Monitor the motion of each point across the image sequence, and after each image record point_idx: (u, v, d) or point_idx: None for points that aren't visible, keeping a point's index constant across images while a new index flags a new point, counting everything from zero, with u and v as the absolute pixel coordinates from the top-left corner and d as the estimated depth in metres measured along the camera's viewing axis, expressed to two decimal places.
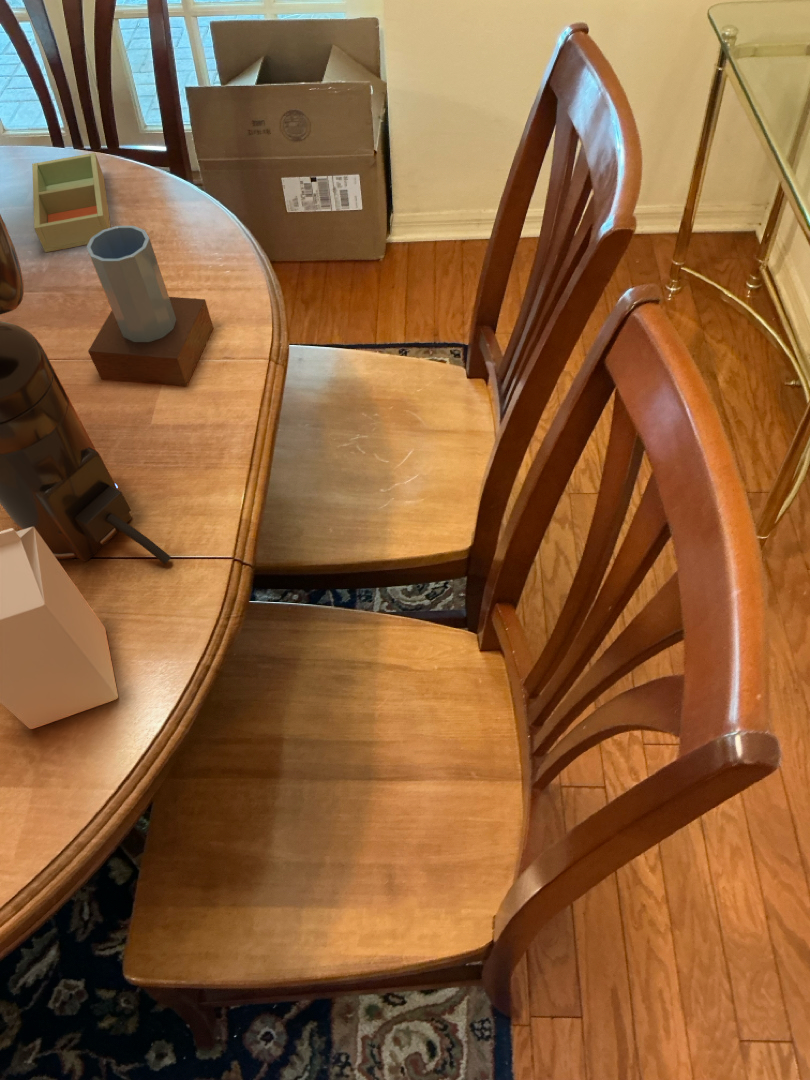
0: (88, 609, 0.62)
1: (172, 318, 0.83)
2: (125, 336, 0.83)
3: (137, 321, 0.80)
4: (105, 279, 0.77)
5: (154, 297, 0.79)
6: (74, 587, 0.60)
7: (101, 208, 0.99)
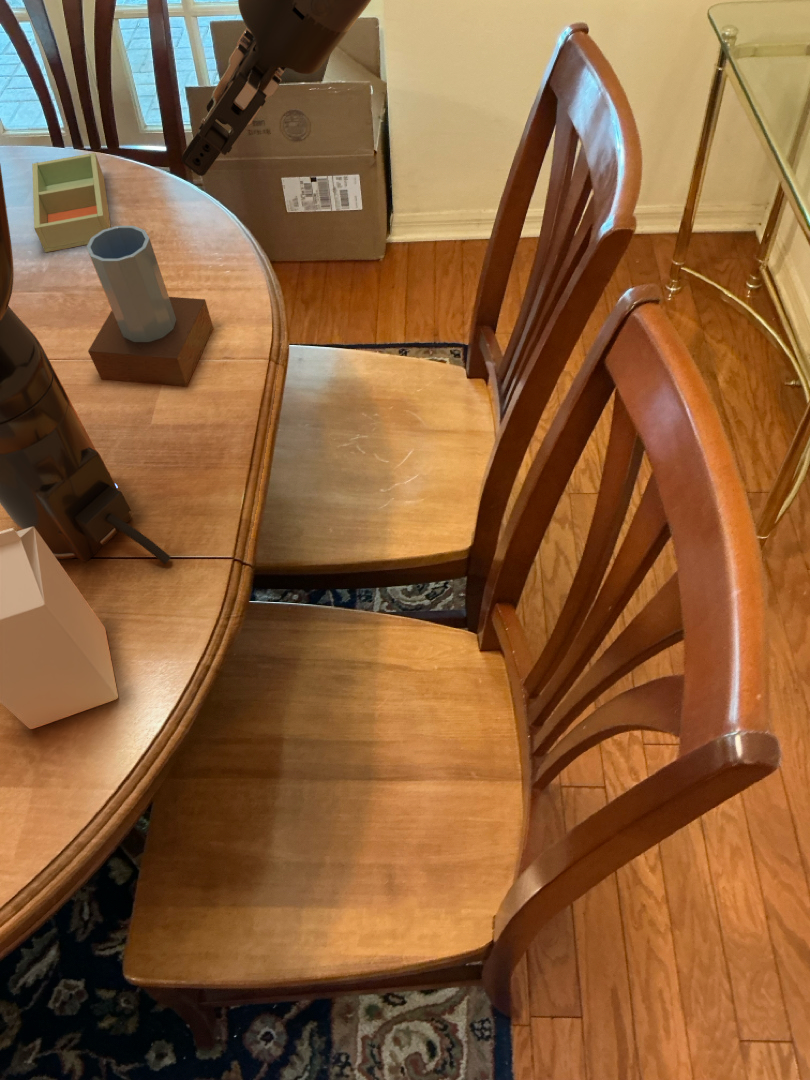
0: (88, 609, 0.62)
1: (172, 318, 0.83)
2: (125, 336, 0.83)
3: (137, 321, 0.80)
4: (105, 279, 0.77)
5: (154, 297, 0.79)
6: (74, 587, 0.60)
7: (101, 208, 0.99)
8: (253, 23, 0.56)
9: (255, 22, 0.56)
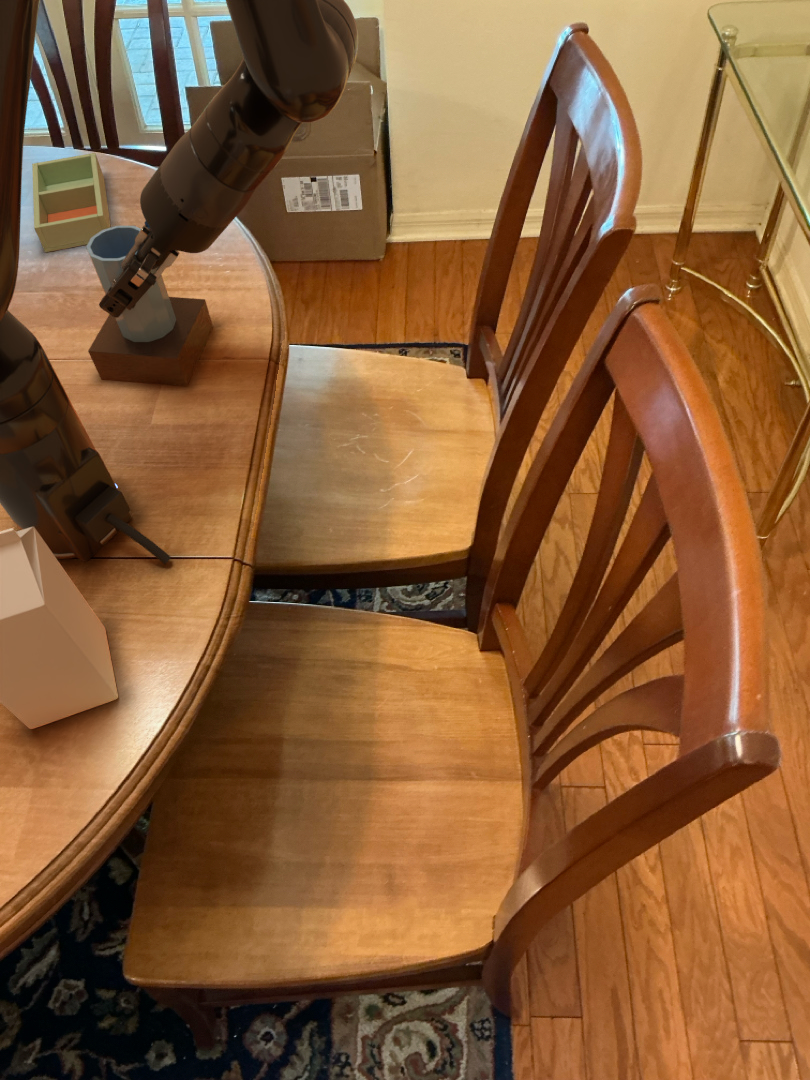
0: (88, 609, 0.62)
1: (172, 318, 0.83)
2: (125, 336, 0.83)
3: (137, 321, 0.80)
4: (105, 279, 0.77)
5: (154, 297, 0.79)
6: (74, 587, 0.60)
7: (101, 208, 0.99)
8: (149, 219, 0.70)
9: (151, 219, 0.70)
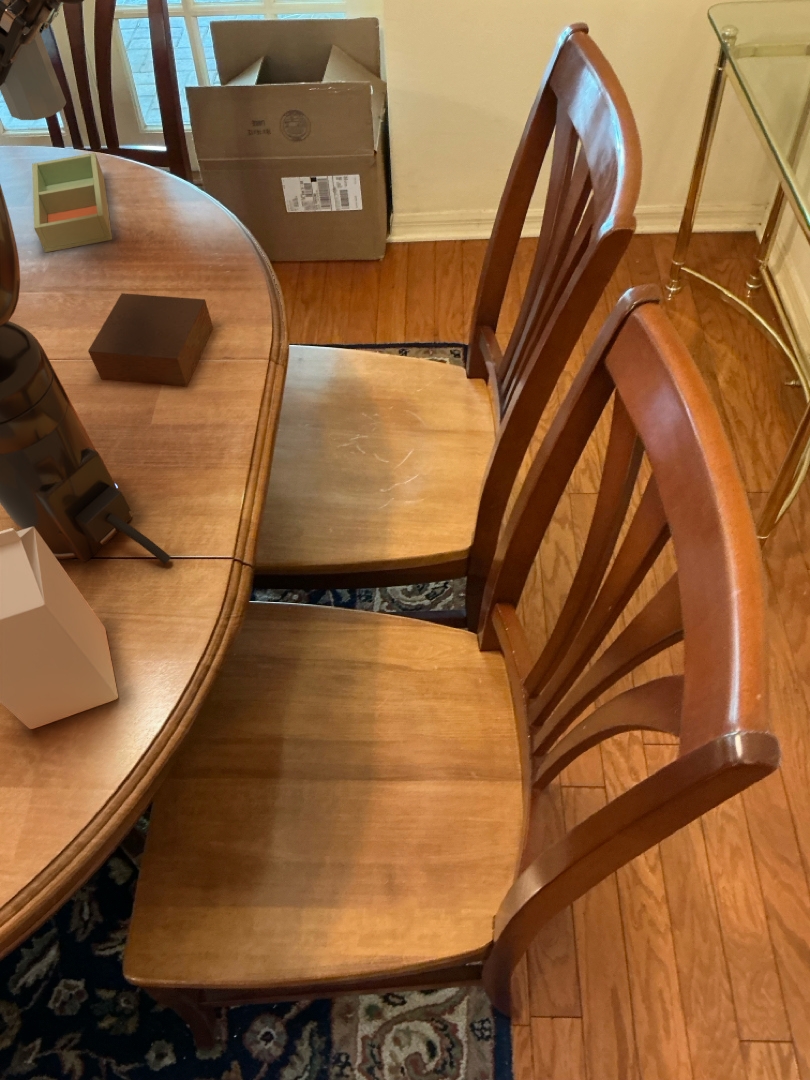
0: (88, 609, 0.62)
1: (60, 98, 0.84)
2: (13, 114, 0.83)
3: (21, 93, 0.81)
4: None
5: (37, 66, 0.80)
6: (74, 587, 0.60)
7: (101, 208, 0.99)
8: None
9: None
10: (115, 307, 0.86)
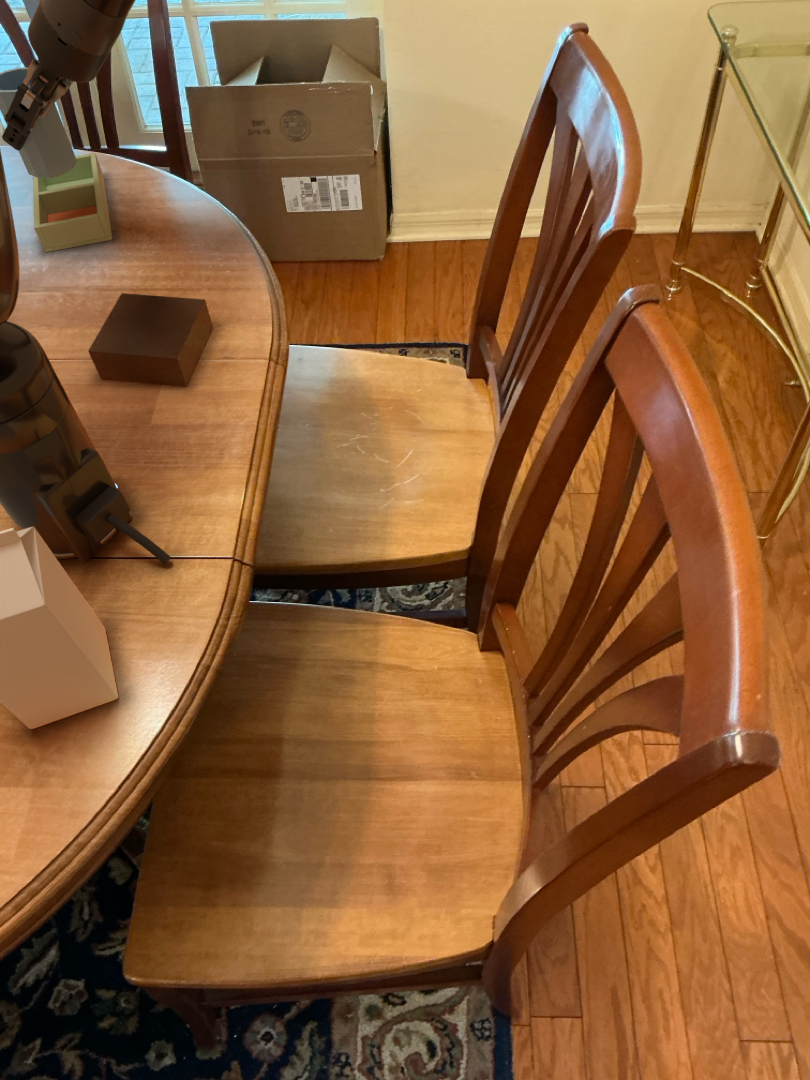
0: (88, 609, 0.62)
1: (72, 158, 0.95)
2: (30, 173, 0.94)
3: (38, 155, 0.92)
4: (6, 112, 0.88)
5: (51, 132, 0.91)
6: (74, 587, 0.60)
7: (101, 208, 0.99)
8: (35, 46, 0.81)
9: (36, 45, 0.81)
10: (115, 307, 0.86)
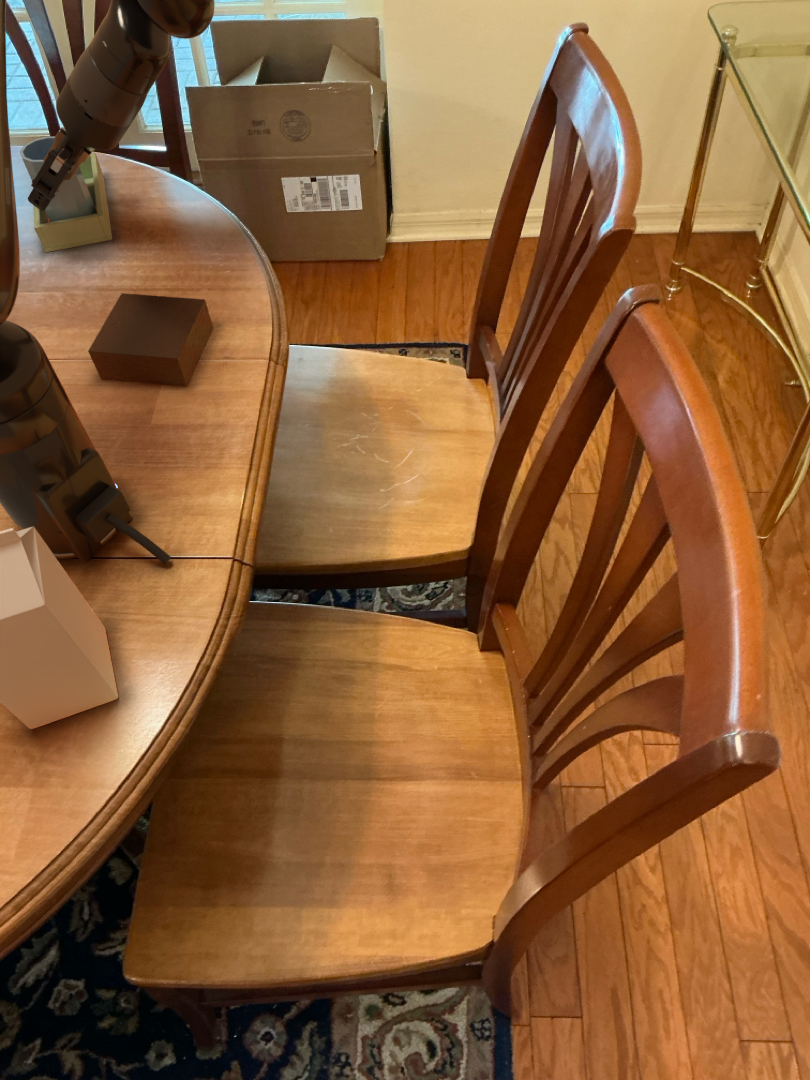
0: (88, 609, 0.62)
1: None
2: None
3: (64, 217, 0.98)
4: None
5: (77, 196, 0.97)
6: (74, 587, 0.60)
7: (101, 208, 0.99)
8: (63, 119, 0.87)
9: (64, 118, 0.87)
10: (115, 307, 0.86)
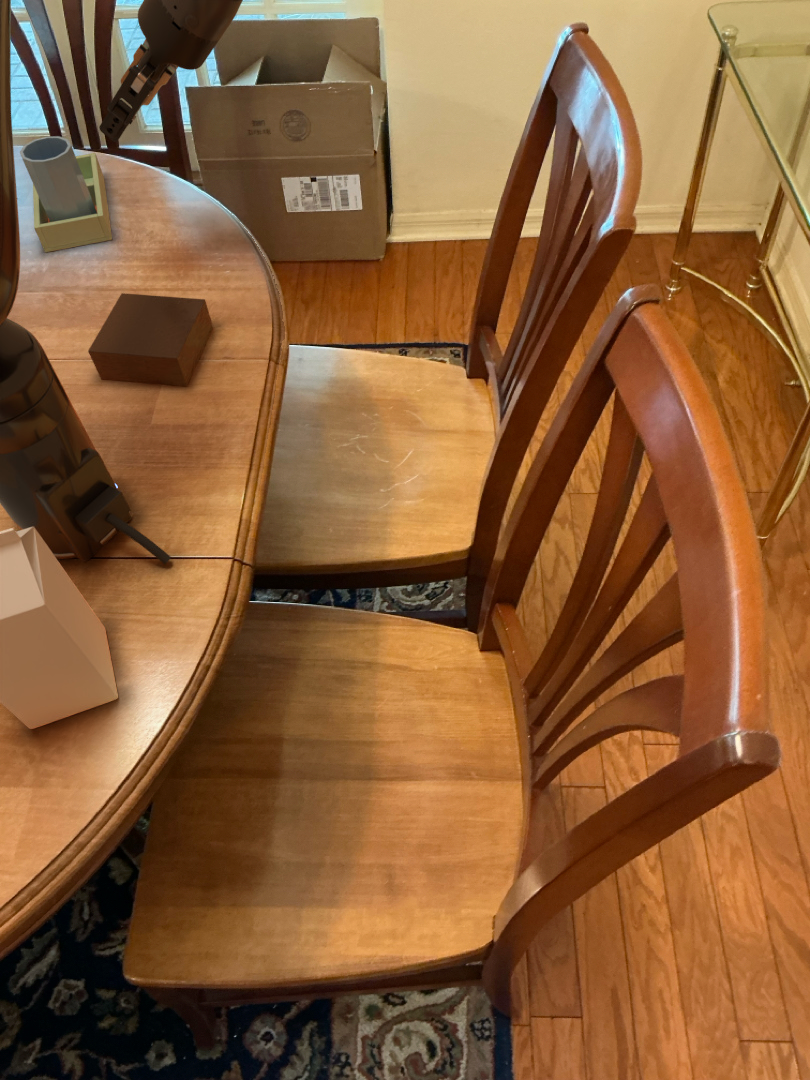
0: (88, 609, 0.62)
1: None
2: None
3: (64, 217, 0.98)
4: (35, 178, 0.95)
5: (77, 196, 0.97)
6: (74, 587, 0.60)
7: (101, 208, 0.99)
8: (146, 31, 0.78)
9: (147, 30, 0.78)
10: (115, 307, 0.86)
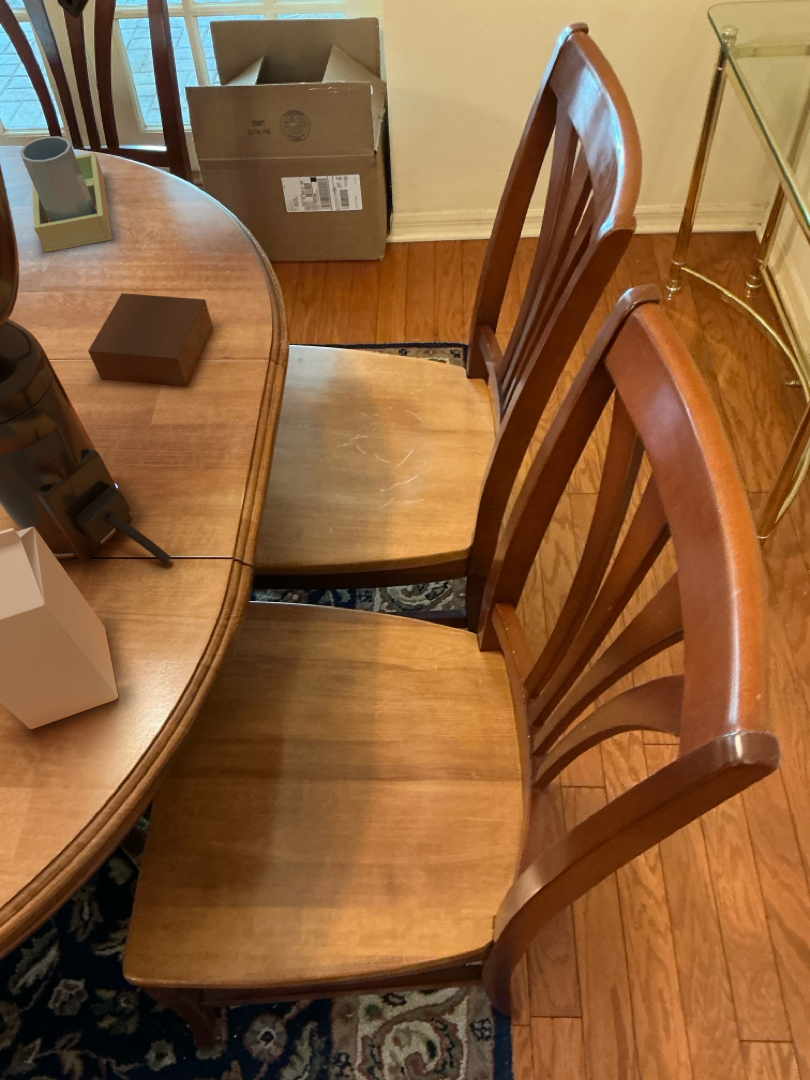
0: (88, 609, 0.62)
1: None
2: None
3: (64, 217, 0.98)
4: (35, 178, 0.95)
5: (77, 196, 0.97)
6: (74, 587, 0.60)
7: (101, 208, 0.99)
8: None
9: None
10: (115, 307, 0.86)
